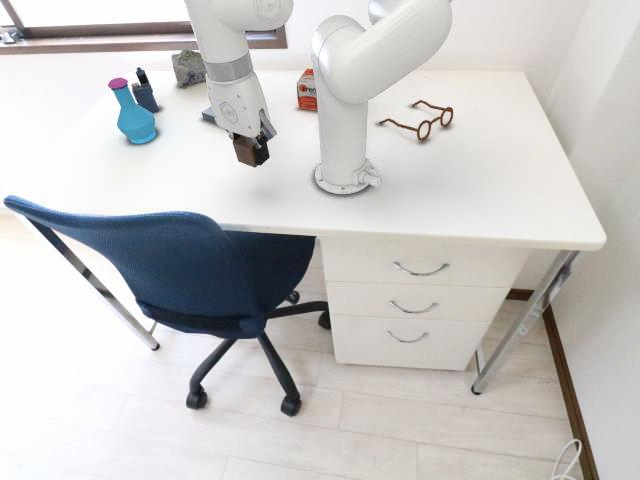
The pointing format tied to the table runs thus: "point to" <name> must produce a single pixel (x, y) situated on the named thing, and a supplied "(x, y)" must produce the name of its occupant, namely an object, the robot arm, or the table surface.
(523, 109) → the table surface
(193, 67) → the mineral rock
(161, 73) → the table surface
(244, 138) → the block
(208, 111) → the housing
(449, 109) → the glasses
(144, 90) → the vaping device
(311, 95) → the drink carton
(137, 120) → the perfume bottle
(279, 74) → the table surface
